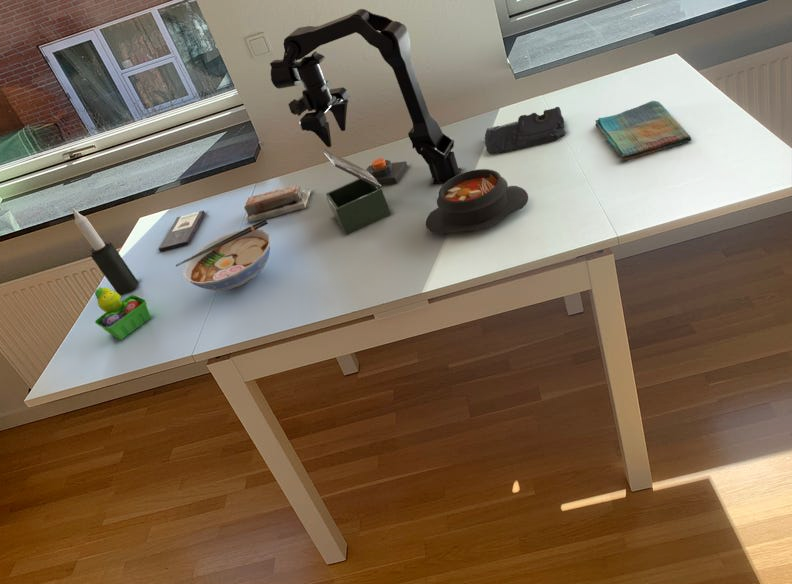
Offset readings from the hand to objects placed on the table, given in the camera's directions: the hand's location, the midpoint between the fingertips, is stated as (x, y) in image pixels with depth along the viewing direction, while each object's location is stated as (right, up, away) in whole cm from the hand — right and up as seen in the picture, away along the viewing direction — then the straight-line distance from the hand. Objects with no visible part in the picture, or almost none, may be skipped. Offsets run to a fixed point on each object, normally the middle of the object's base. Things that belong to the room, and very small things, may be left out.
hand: (336, 138), depth 189 cm
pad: (+12, -8, +9) cm, 17 cm away
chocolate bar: (-48, -22, +19) cm, 56 cm away
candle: (-57, -40, +1) cm, 69 cm away
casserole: (+37, -26, -22) cm, 50 cm away
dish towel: (+78, -3, -14) cm, 80 cm away
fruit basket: (-49, -51, -15) cm, 72 cm away
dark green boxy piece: (+8, -22, -5) cm, 24 cm away
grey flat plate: (+6, -12, -13) cm, 19 cm away
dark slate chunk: (+51, +2, +4) cm, 51 cm away
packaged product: (-18, -16, +13) cm, 27 cm away
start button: (+11, -6, +7) cm, 14 cm away
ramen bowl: (-22, -39, -13) cm, 47 cm away
